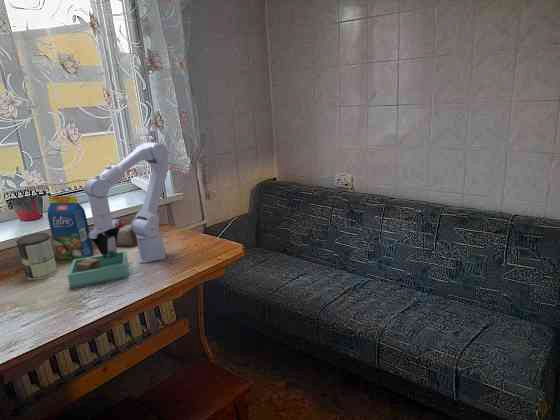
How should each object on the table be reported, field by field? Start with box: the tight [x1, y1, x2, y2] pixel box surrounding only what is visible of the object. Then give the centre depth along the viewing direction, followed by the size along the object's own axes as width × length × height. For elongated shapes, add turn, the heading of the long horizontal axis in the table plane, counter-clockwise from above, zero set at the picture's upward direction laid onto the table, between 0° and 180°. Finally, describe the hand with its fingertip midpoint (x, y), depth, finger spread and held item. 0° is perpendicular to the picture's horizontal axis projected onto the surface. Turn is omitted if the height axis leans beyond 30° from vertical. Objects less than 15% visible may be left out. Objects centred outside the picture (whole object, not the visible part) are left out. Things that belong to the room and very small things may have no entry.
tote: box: [67, 250, 129, 290], centre depth 147 cm, size 18×14×5 cm
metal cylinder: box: [101, 235, 119, 259], centre depth 146 cm, size 5×5×7 cm
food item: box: [116, 220, 138, 247], centre depth 175 cm, size 14×8×10 cm, turn 76°
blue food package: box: [47, 195, 94, 261], centre depth 162 cm, size 6×12×25 cm, turn 78°
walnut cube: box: [77, 258, 100, 272], centre depth 145 cm, size 5×5×5 cm
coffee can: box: [16, 232, 58, 281], centre depth 150 cm, size 10×10×14 cm
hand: (108, 250), depth 146 cm, fingers closed on metal cylinder, 5 cm apart
